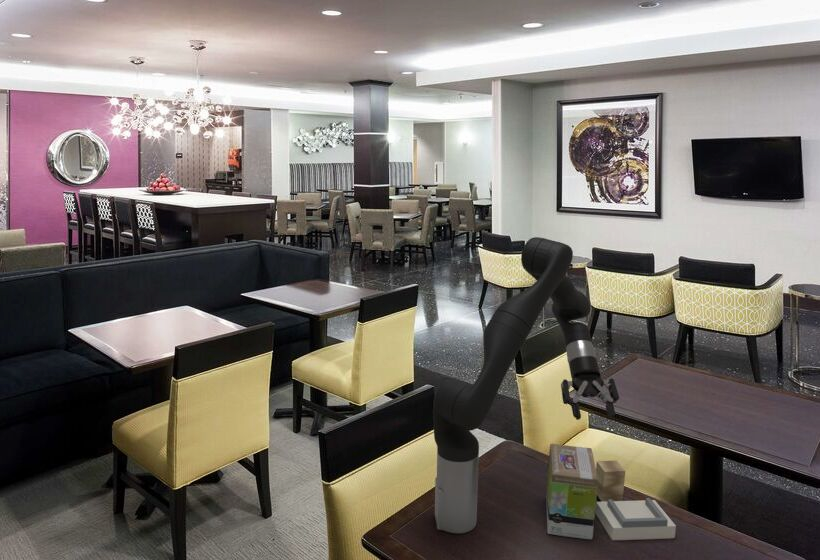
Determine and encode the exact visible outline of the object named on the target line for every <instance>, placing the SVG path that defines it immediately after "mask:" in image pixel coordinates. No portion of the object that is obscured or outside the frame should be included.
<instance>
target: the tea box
mask: <svg viewBox="0 0 820 560" xmlns="http://www.w3.org/2000/svg"><path fill="white" fill-rule="evenodd" d="M548 454H549V456H548V465H547V466H548V469H547V482H546V493H545V495H546V496H545V500H546V528H547V534H548V535H555V536H560V537H567V538H568V537H569V538H575V539H576V538H577V539H583V540H593V536H594V529H595V527H594V525H595V524H594V523H595V517H596V514H595V512H596V502H597V498H596V496H597V486H598V478H597V472H596V464H595V459H594V452H593V449H592V448H591V447H586V446H584V447H583V446H574V445H565V444H563V445H562V444H557V443H556V444H554V443H550V444H549V453H548Z"/></svg>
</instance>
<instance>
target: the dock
mask: <svg viewBox="0 0 820 560" xmlns="http://www.w3.org/2000/svg"><path fill="white" fill-rule="evenodd" d="M595 516H596V517H597V519H598V520H599V522H600V523H601V525H602V527H603V528H604V529H605V531H606V533H607V534H608V536H609V537H610V539H611V541H631V540H633V541H634V540H659V539H660V540H662V539H663V540H664V539H665V540H666V539H668V540H669V539H675V537H676V529H677V525H676V524H675V523H674V522H673V520H672V519H671V518H670V517H669V516H668V514H667V513H666V512H665V511H664V509H663V508H662V507H661V506H660V505H659V503H658V502H657V501H656V500H655V499H651V498H650V497H647V498H645V500H623V501H613V500H612V499H608V501H607V502H601V501H596V507H595Z"/></svg>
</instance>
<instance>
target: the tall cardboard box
mask: <svg viewBox="0 0 820 560" xmlns="http://www.w3.org/2000/svg"><path fill="white" fill-rule="evenodd" d="M595 467H596V472H597V478H598V486H597V496H596V499H599V500H600V502H607V501H608V499H612V500H613V501H624V490H625V479H626V470H625V469H624V467H623V466H622V465H621V464H620V463H619V461H618V460H597V461H596V464H595Z"/></svg>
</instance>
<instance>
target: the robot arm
mask: <svg viewBox="0 0 820 560" xmlns="http://www.w3.org/2000/svg"><path fill="white" fill-rule="evenodd" d="M573 253H574V251H573V249H572V247H571V246H570V245H568V244H566V243H563V242H560V241H556V240H552V239H548V238H545V237H541V236H539V237H537V236H534V237H531V238H529V239H528V240H527V241H526V243H525V244H524V246H523V248H522V251H521V255H520V256H521V257H520V261H521V263H520V264H521V265H522V268H523V269H524V271H525V272H526V273H528V275H530V276H531V277H532V278H533V279H534V280H535V282H534V283H533V284H532V285H531V286H529V287H528V288H526V289H525V290H523V291H520V292H519V293H517V294H516V295H514V296H511V297H509V298H508V299H507V300H505V301H504V302H502V303H501V304H500V305H498V307H497V308H496V309H495V310H494V312H493V314H492V316H491V317H490V319H489V321H488V323H487V325H486V326H485V328H484V331H483V337H482V338H483V365H482V367H481V370H480V373H479V375H478V376H477V379H476V380H475V382H474V383H473V384H472V385H470V384H468V383H465V382H462V381H460V380H456V379H446V380H444V381H443V382H441V383H440V385H439V386H438V388H437V389H436V391H435V394H434V398H433V403H432V406H433V407H432V410H433V411H432V415H433V420H432V421H433V439H434V442H435V445H436V446H437V447H436V450H437V451H436V477H435V484H434V485H435V487H434V516H435V517H434V518H435V523H436V524H435V525H436V529H437V530H439V531H445V532H447V533H451V534H465V533H469V532H470V531H472V530H474V529H475V527H476V526H477V522H478V521H477V519H478V491H479V490H478V489H479V488H478V485H479V458H480V457H479V455H480V444H479V440H478V438H477V437H476V436H475V435H474V434H473V433H472V432H471V431H474V430H476V429H478V428H479V427H480V426H481V425H482V424H483V422H484V421H485V419H486V418H487V416H488V414H489V412H490V410H491V408H492V406H493V404H494V402H495V399H496V396H497V394H498V393H499V390H500V388H501V385H502V383H503V381H504V379H505V377H506V375H507V373H508V371H509V369H510V367H511V366H512V363H513V362H514V360H515V358H516V357H517V354H519V351H520V350H521V349H522V346H523V345H524V344H525V342H526V340H527V339H528V337H529V335H530V333H531V331H532V329H533V327H534V325H535V324H536V321H537V320H538V317H539V316H540V314H541V312H542V311H543V309H544V307H545V306H546V304H547V302H549V299H550V300H551V301H552V305H551V312H552V314H553V316H554V318H555V320H556V322H557V323H558V325H559V327H560V329H561V332H562V334H563V338H564V343H565V348H566V359H567V363H568V368H569V373H570V378H571V380H567V379H566V378H564V379H563V380H562V381H561V383H560V389H561V396H562V403H563V404H564V405H569V406H570V407H571V411H572V416H573V418H575V420H578V421H580V420H581V418H582V413H581V410H580V405H579V404H580V403H578V402H579V399H580V397H582V398H595V397H597V398H598V399H599V400H600V401H602V402H603V403H604V404H605V409H606V414H607V418H608V419H609V420H612V419H614V417H615V415H616V410H615V407H614V406H615V405H614V404H615V403H617V402H618V401H619V399H620V395H619V391H618V389H617V385H616V382H615V379H614V378H609V379H606V380H605V379H603V378H602V376H601V371H600V367H599V366H600V365H599V363H598V358H597V354H596V349H595V347H594V345H593V342H592V338H591V337H592V336H591V332H590V329H589V326H588V325H586V324H585V323H582V322H572V321H576V320H580V319H584V318H587V317H588V316H589V314H590V313H591V308H592V307H591V302H590V301H589V299H588V297H587V296H586V294H585V293H583V292H582V291H580V290H578V289H576V287H575V284H574V283H573V281H572V280H571V279H570V278H569V276H567V273H568V271H569V269H570V267H571V264H572V261H573V256H574V254H573ZM603 386H604V387H605V388H606V389H607V390H608V391H607V390H605V389H604V388H603ZM570 388H573V390H574V391H576V392H575V394H574V396H573V398H571V395H570V394H571V393H570ZM608 393H609V394H608Z"/></svg>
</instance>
